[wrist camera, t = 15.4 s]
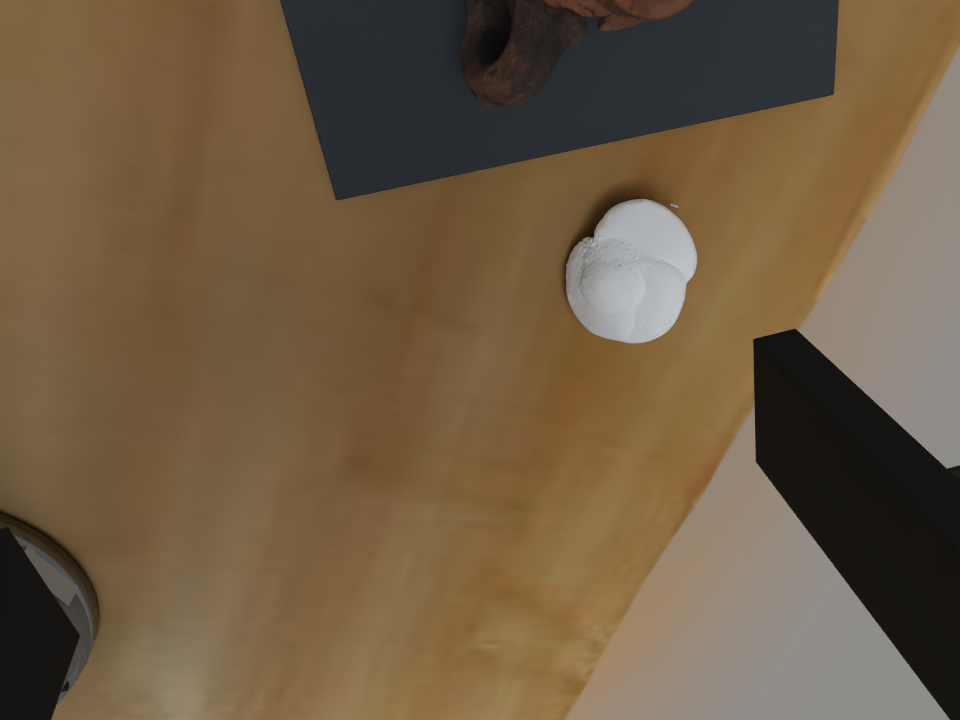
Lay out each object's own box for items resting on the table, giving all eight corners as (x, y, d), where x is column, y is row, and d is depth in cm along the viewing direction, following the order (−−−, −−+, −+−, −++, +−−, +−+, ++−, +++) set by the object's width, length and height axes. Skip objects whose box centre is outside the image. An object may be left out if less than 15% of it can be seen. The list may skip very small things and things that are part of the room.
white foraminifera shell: (644, 323, 40) (648, 371, 37) (548, 287, 40) (544, 333, 37) (715, 205, 36) (726, 247, 33) (609, 163, 36) (610, 201, 32)
